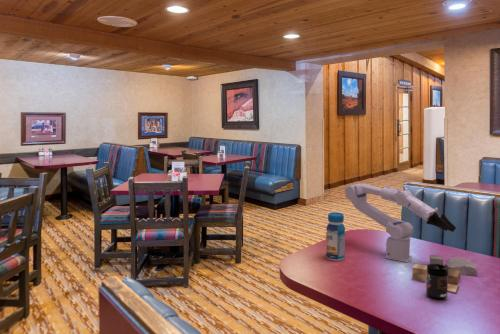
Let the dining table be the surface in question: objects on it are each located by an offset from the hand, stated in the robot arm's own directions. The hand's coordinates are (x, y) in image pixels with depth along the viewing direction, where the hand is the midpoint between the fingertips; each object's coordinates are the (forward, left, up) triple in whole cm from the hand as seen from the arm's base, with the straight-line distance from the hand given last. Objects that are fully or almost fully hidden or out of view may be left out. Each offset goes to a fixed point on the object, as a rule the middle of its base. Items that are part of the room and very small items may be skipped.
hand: (451, 229), depth 150 cm
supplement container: (0, -24, -18) cm, 30 cm away
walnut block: (+1, -7, -18) cm, 20 cm away
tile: (+2, -15, -18) cm, 23 cm away
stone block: (+3, +6, -19) cm, 20 cm away
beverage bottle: (-44, -9, -18) cm, 49 cm away
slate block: (-5, +2, -18) cm, 19 cm away
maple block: (-8, -12, -18) cm, 23 cm away
